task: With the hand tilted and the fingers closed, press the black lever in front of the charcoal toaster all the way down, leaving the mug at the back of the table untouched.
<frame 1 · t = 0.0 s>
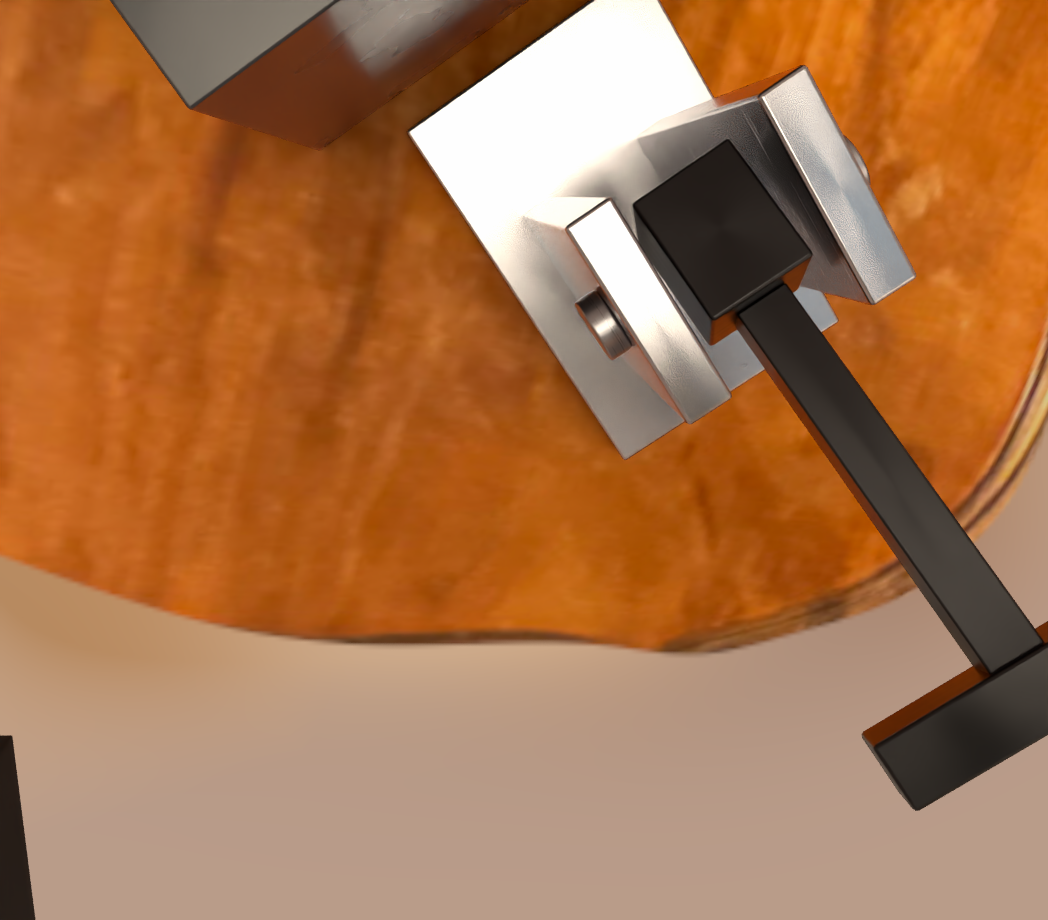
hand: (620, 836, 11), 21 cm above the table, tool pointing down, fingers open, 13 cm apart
lever bracket: (625, 228, 29), on the table
lever: (855, 440, 18), point 13 cm above the table, hinge at 25.0°
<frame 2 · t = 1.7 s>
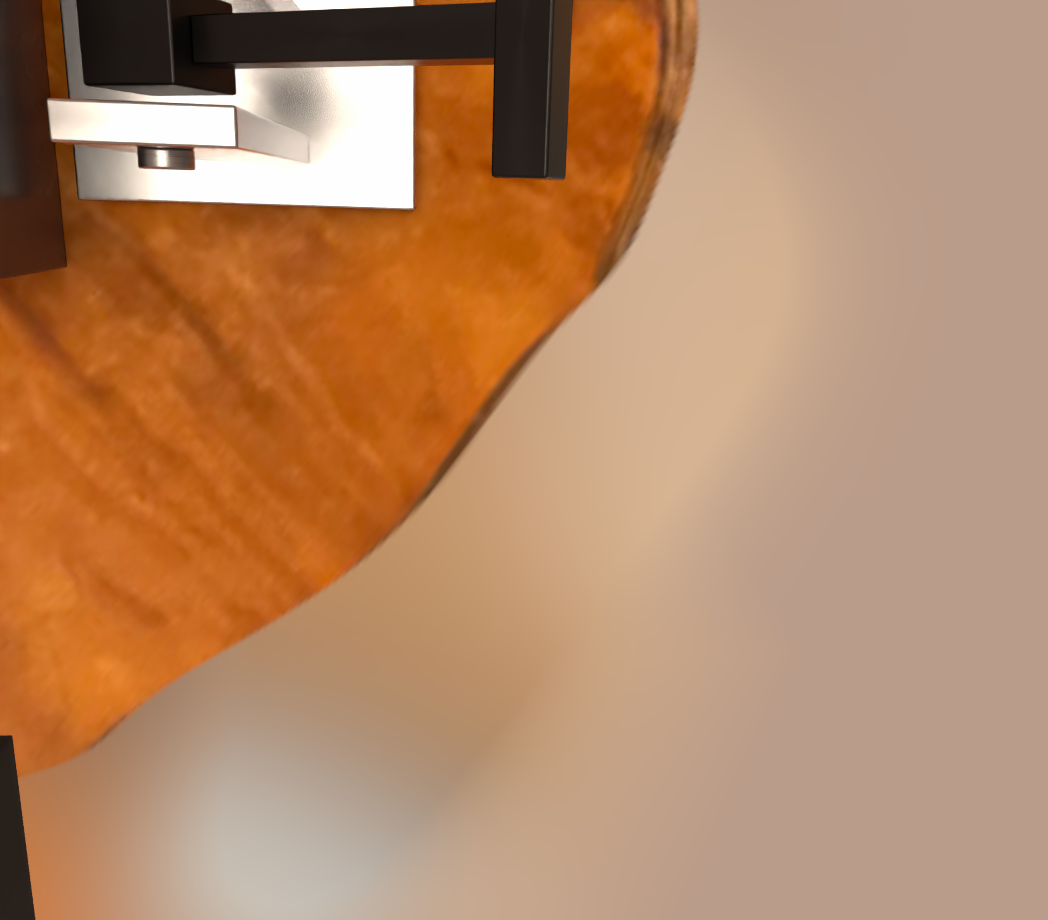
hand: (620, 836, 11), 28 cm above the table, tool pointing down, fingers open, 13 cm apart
lever bracket: (250, 90, 34), on the table
lever: (318, 39, 22), point 13 cm above the table, hinge at 25.0°
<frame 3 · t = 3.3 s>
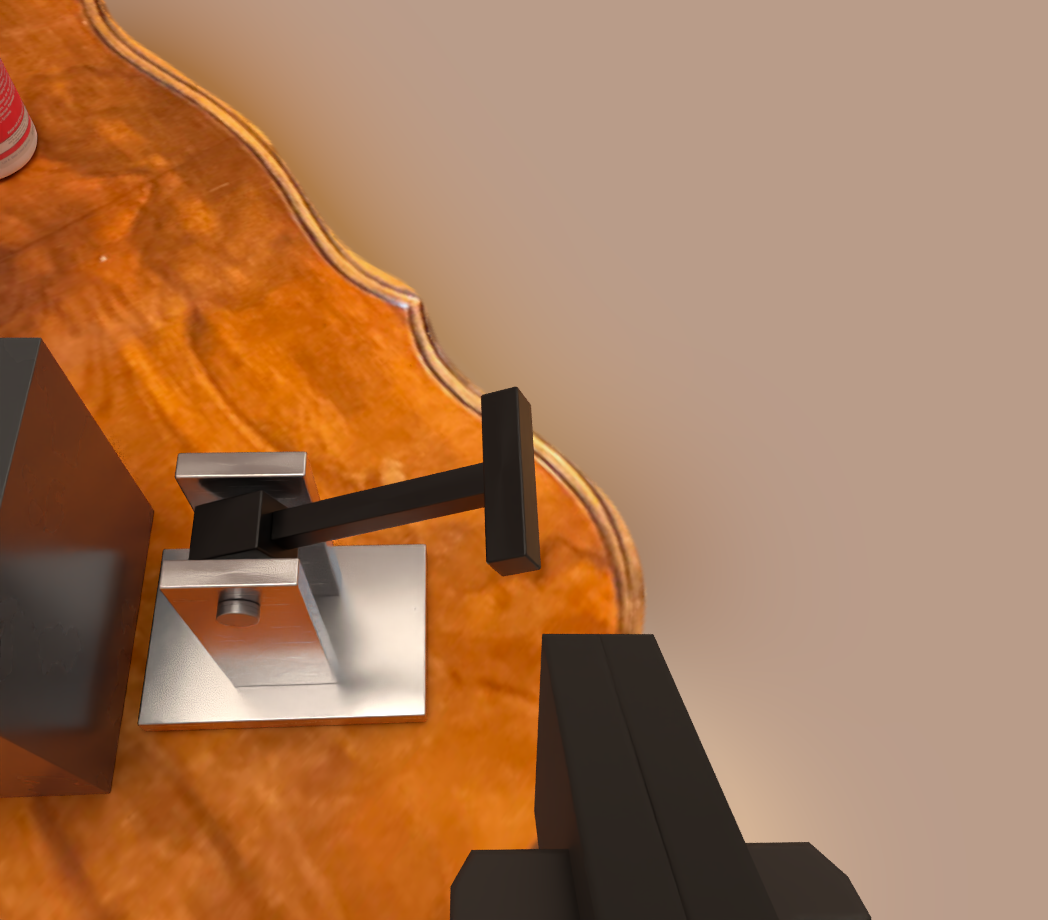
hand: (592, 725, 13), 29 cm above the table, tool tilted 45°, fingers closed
lever bracket: (293, 637, 42), on the table
lever: (361, 512, 31), point 13 cm above the table, hinge at 25.0°
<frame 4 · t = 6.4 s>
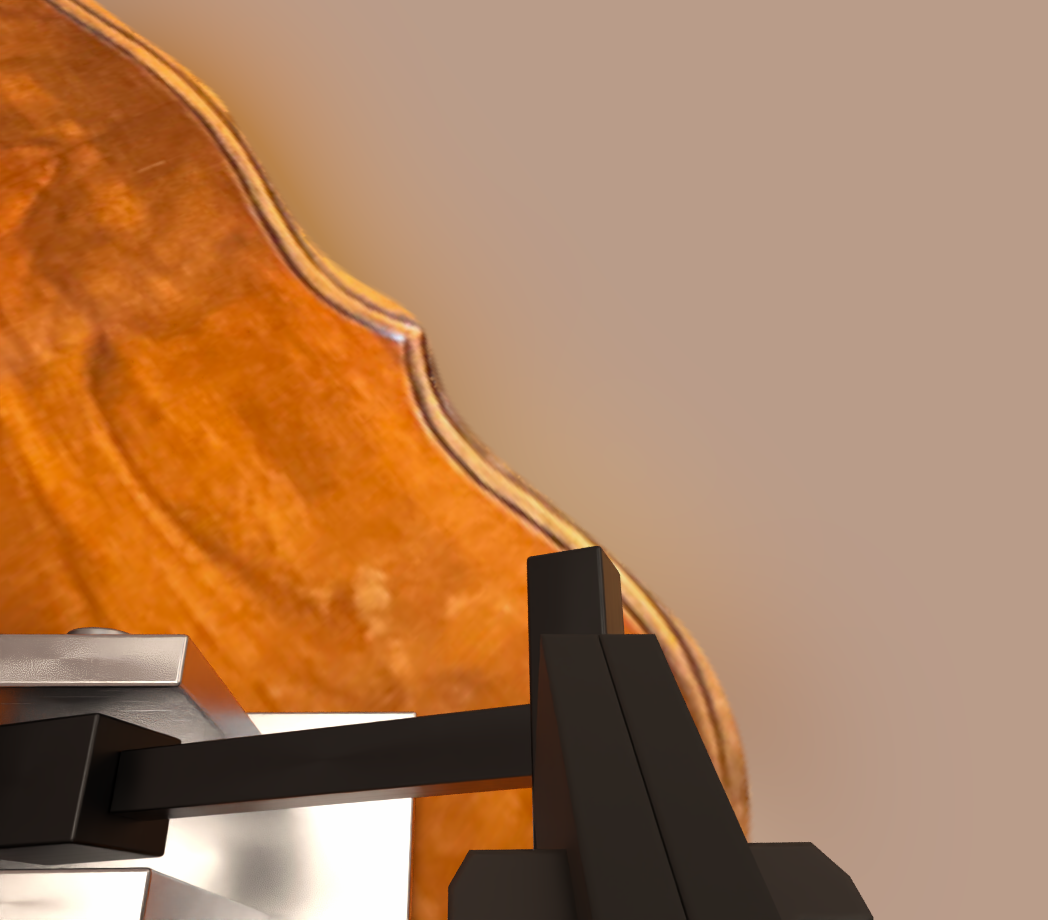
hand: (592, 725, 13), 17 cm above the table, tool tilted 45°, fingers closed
lever bracket: (205, 860, 27), on the table
lever: (286, 770, 16), point 13 cm above the table, hinge at 23.7°, touching gripper
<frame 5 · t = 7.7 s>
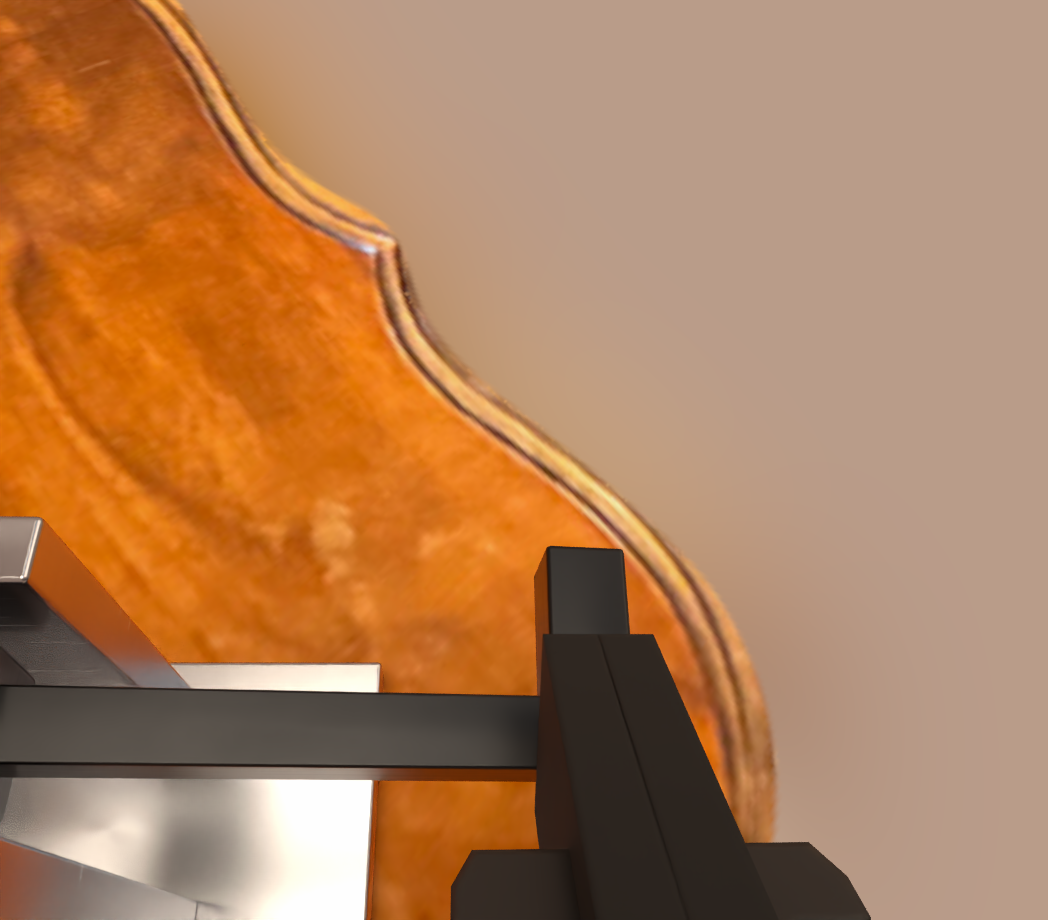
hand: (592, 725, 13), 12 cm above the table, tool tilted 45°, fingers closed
lever bracket: (126, 837, 23), on the table
lever: (230, 734, 14), point 11 cm above the table, hinge at -5.1°, touching gripper
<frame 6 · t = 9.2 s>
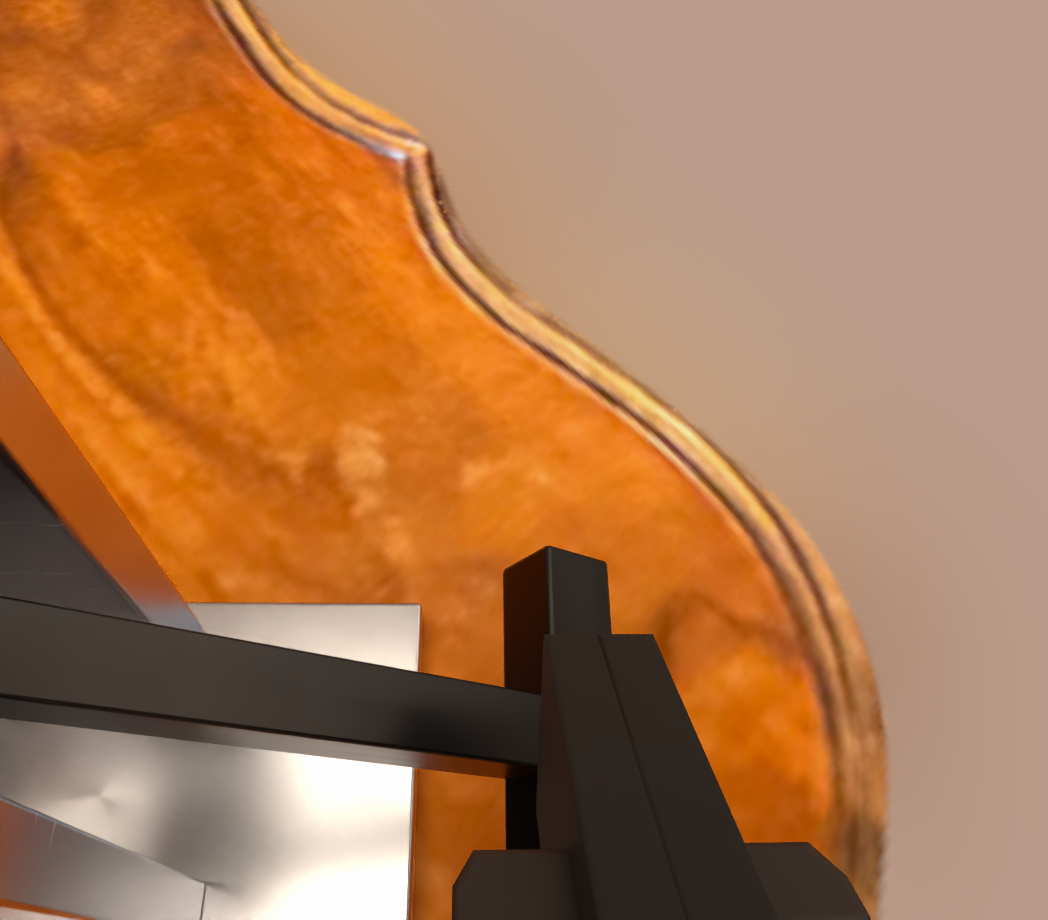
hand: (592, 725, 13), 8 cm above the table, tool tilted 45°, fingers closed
lever bracket: (120, 807, 19), on the table
lever: (228, 692, 12), point 9 cm above the table, hinge at -32.4°, touching gripper
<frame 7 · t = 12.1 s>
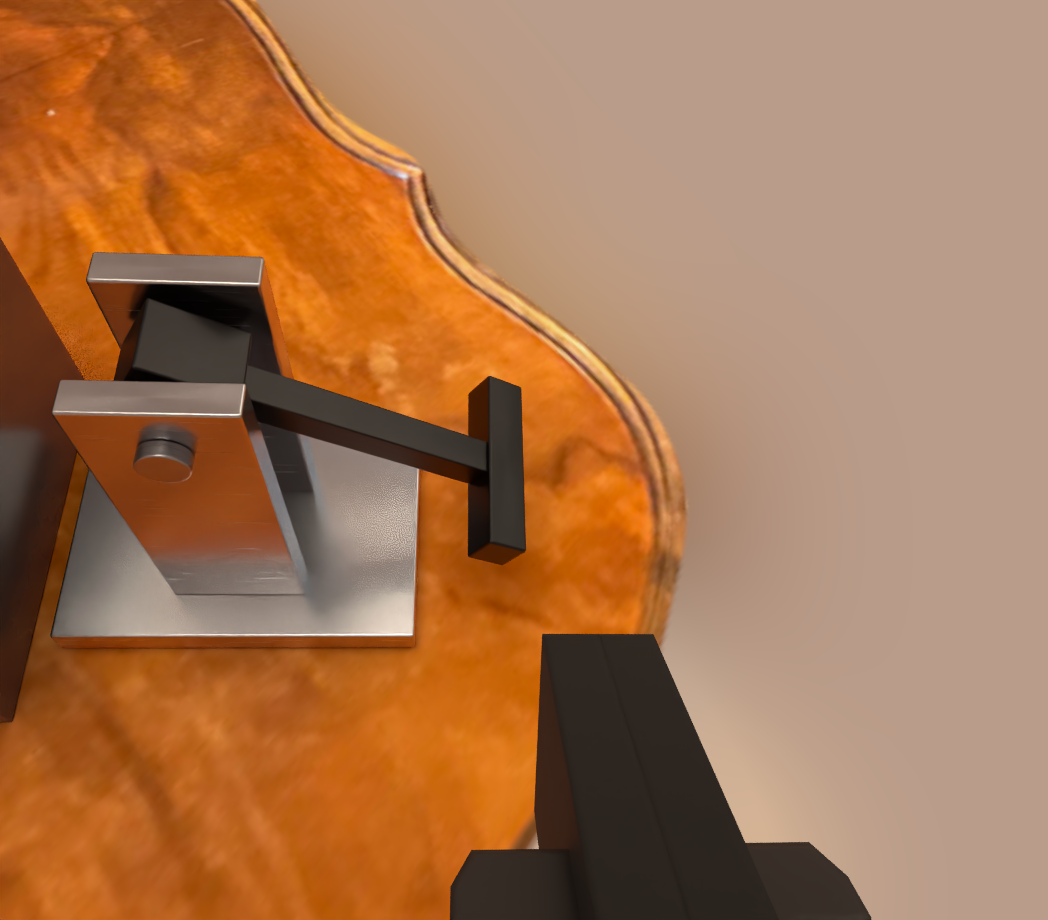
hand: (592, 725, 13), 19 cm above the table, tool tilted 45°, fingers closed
lever bracket: (254, 542, 34), on the table
lever: (341, 420, 27), point 9 cm above the table, hinge at -30.7°
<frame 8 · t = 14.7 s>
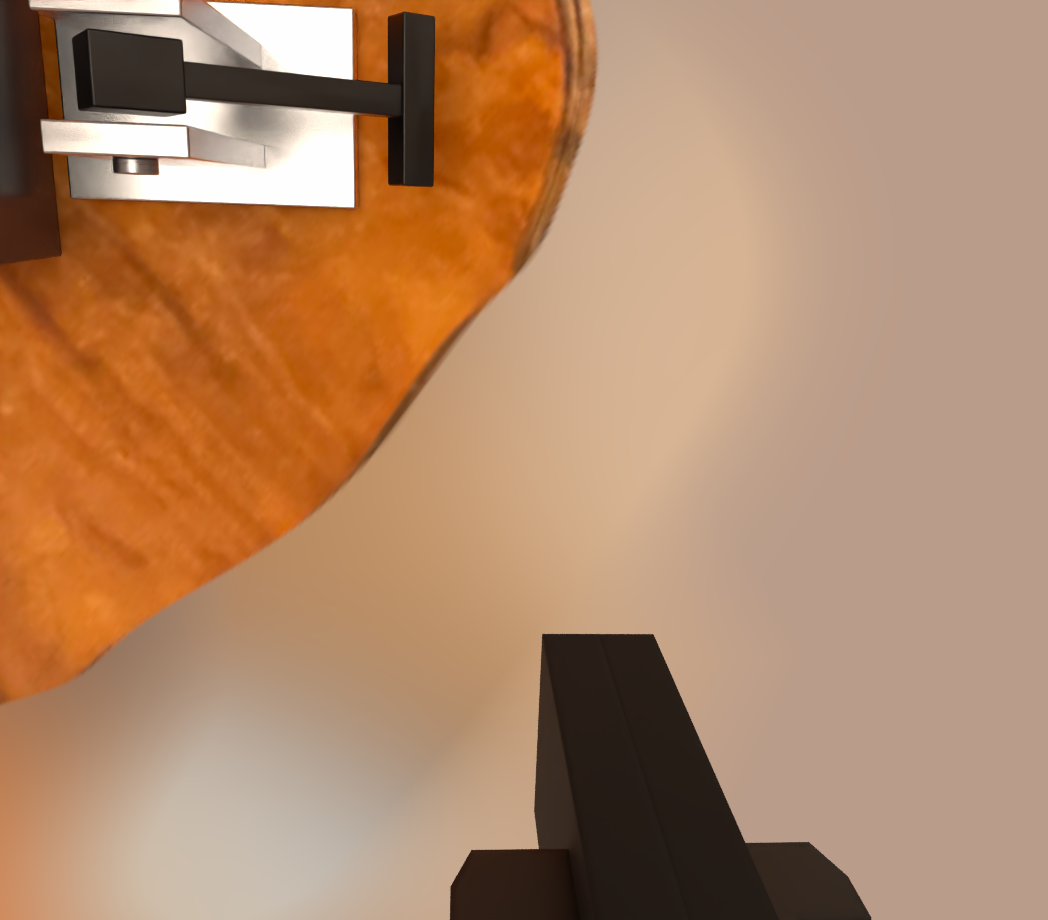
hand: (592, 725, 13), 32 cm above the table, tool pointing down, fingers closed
lever bracket: (216, 107, 40), on the table
lever: (271, 89, 32), point 9 cm above the table, hinge at -30.7°
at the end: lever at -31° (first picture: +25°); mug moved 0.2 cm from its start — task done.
